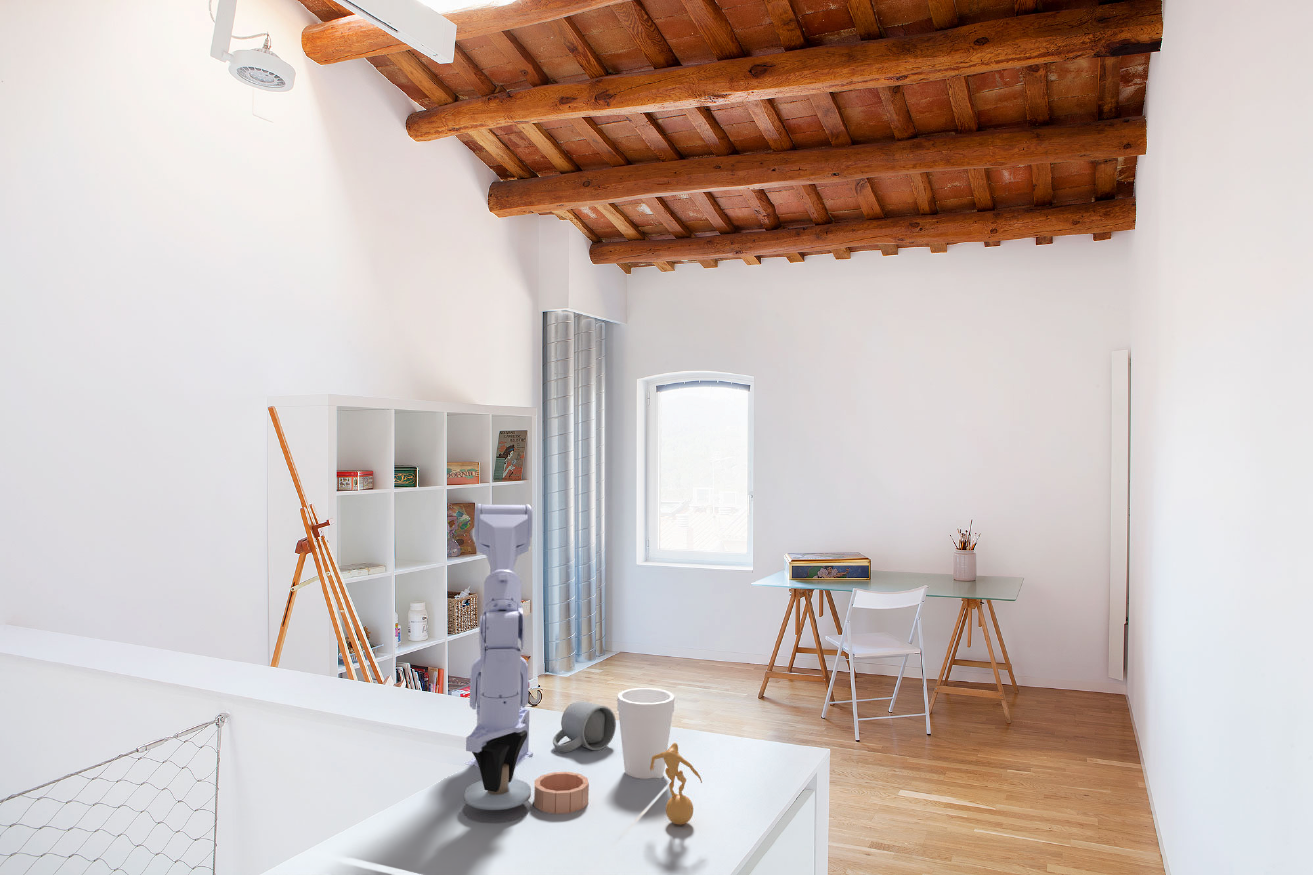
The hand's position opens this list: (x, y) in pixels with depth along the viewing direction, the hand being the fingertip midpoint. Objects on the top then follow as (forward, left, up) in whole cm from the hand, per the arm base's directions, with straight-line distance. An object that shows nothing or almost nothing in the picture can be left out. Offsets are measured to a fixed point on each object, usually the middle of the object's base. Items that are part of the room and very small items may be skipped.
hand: (498, 785), depth 120 cm
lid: (0, 0, -2) cm, 2 cm away
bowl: (-5, +8, -4) cm, 10 cm away
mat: (0, 0, -4) cm, 4 cm away
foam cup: (-22, +15, -4) cm, 27 cm away
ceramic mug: (-30, -1, -4) cm, 30 cm away
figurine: (-6, +26, -4) cm, 27 cm away
